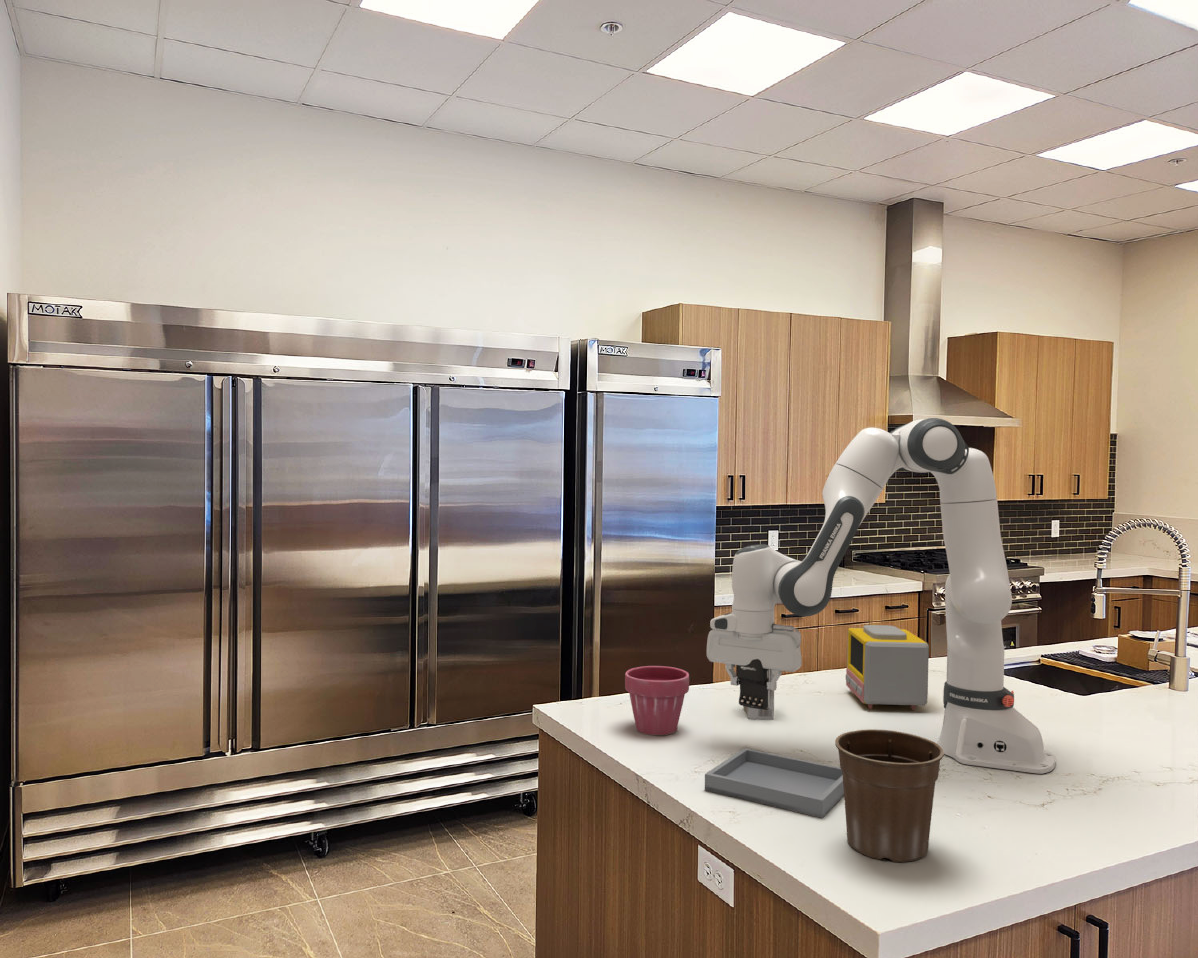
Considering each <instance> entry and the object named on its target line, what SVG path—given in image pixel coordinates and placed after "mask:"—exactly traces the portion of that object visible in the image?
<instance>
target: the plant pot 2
mask: <svg viewBox="0 0 1198 958" xmlns="http://www.w3.org/2000/svg"><path fill="white" fill-rule="evenodd" d="M834 741H835V742H834V743H835V744H834V745H835V747H836V749H837V750H838V756H839V757H838V758H839V767H840V768H841V770H842V774H843V786H844V796H843V798H844V810H845V825H846V838H847V839H846V840H847V842H848V844H849V845H850V847H851V848H852V849H854V850H855V851H856V852H858V853H860V854H862V855H863V856H866V857H869V858H871V859H874V860H878V861H879V860H883V859H884V858H885V859H888V860H891V861H892V862H893V863H899V862H900V863H905V862H913V861H917V860H920V859H922V858H924V857H925V856H926V855H927V853H928V851H929V845H930V834H931V833H930V832H931V822H932V815H933V804H934V798H935V797H934V796H935V787H936V781H937V780H938V779H939V774H940V765H941V760H942V759H943V758H944V755H945V754H944V751H943V749H942V748H941V747H940V746H939V745H938V744H937V743H938V742H935V741H932V740H931V739H929V738H925V737H922V736H919V735H915V734H912V733H908V732H904V731H903V732H901V731H897V730H890V729H889V730H888V729H877V728H876V729H857V730H852V731H847V732H844V733H841V734H840V735H838V736H837V737H836V738H835V740H834Z"/></svg>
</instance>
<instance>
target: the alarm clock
mask: <svg viewBox="0 0 1198 958" xmlns="http://www.w3.org/2000/svg"><path fill="white" fill-rule="evenodd" d="M846 642H847V645H846V647H847V648H846V669H845V670H846V671H845V673H846V674H845V686H847V688H848V689H849V690H850V691H851V692H852V693H853V694H854V695H855V696H856V697H857V698H858V699H859V701H860V702H861V703H862V704H866V705H867V707H868V709H870V710H871V709H873V706H874V705H892V706H893V705H894V706H896V705H897V706H910V709H911V710H912V711H916V707H917V706H926V705H927V704H928V699H929V698H928V696H929V693H928V692H929V690H928V689H929V656H930V655H929V654H930V653H929V650H930V647H929V646H930V645H929V644H928V642H927V641H924V640H923V639H922V638H920V637H918V636H917V635H916V634H914V633H912V632H911V631H910V630H907V629H906V628H905V629H904V628H898V627H897V626H894V625H885V624H884V625H883V624H882V625H881V624H865V625H864V626H863V627H849V628H848V629H847V641H846Z"/></svg>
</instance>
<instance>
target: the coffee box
mask: <svg viewBox="0 0 1198 958" xmlns="http://www.w3.org/2000/svg"><path fill="white" fill-rule="evenodd" d="M774 675H775V674H774ZM774 675H772V669H771V680H772V679H773V677H774ZM742 708H743V710H744V712H745V715H746V717H747V719H748V720H774V717H775V716H774V715H775V714H774V713H775V691H771V690H770V707H769V708H766V709H755V708H749V707H745V706H743V707H742Z"/></svg>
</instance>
